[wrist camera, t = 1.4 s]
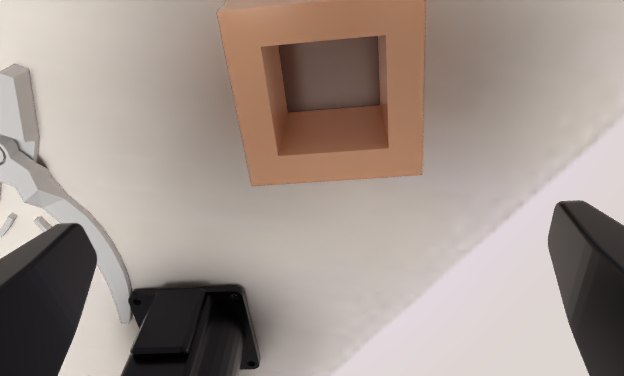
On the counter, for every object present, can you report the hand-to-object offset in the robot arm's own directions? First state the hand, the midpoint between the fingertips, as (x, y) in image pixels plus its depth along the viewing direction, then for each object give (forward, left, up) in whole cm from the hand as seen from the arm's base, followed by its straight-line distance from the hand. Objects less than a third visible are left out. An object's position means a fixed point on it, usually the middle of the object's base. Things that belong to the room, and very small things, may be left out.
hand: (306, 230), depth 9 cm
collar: (-1, 0, -12) cm, 12 cm away
